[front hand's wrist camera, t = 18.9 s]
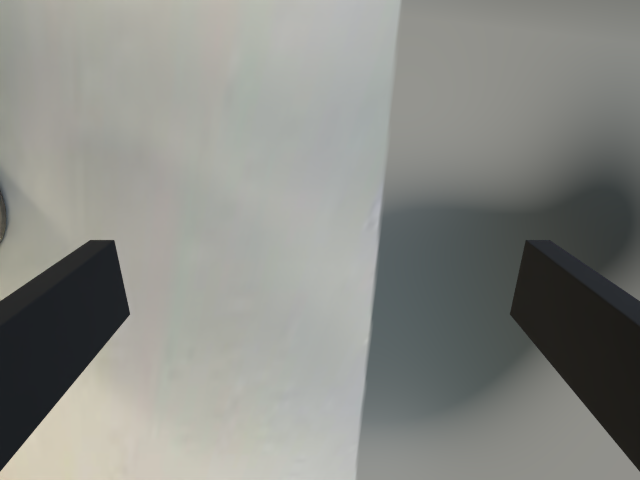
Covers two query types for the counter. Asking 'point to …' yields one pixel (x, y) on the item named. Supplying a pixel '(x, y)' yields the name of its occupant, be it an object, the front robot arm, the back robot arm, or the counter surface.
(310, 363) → the counter surface
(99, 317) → the front robot arm
